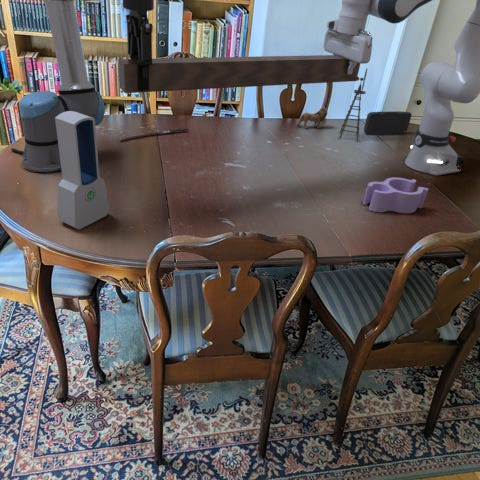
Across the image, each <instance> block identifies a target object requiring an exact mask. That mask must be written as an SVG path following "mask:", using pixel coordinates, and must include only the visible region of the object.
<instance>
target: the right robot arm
mask: <svg viewBox="0 0 480 480" xmlns="http://www.w3.org/2000/svg"><path fill="white" fill-rule="evenodd" d="M432 1H433V0H341V8H340V11H339V15H338V18H336V19H332V20H328V21H327V22H326V28H327V30H326V31H325V34H324V39H323V50H324V52H327V53H329V54H331V55H338V56H341V57H344V58H346V59H349V60H350V62H349V63H350V65H349V67H348V68H346V73H347V74H352V72H353V69H354V67H355V66H356V65H357V63H360V65H361V64H363V65H364V64H368V63H370V61H371V57H372V51H373V36H372V34H371V32H370V31H366V25H367V20H368V16H369V15H370V16H372V17H376V18H378V19H381V20H384V21H386V22H388V23H390V24H401V23H402V22H404V21H405V20H406V19H408V18H409V17H410V16H411V15H412V14H413V13H414V12H415V11H416V10H418V9H419V8H420V7H423V6H425V5H426V4H428V3H430V2H432ZM453 47H454V48H453V49H454V51H455V54H456V55H455V60H454V63H453V64H450V63H447V62H443V61H432V62H430V63H427V64H426V65H425V67H423V70H421V73H420V83H421V86H422V88H423V92H424V107H423V114H422V117H421V121H420V124H419V128H418V129H417V130H416V133H415V135H414V142H413V144H412V145H410V151H409V153H408V155H407V156H406V158H405V160H404V162H403V163H404V164H405V165H406V166H407V167H408V168H410V169H412V170H414V171H417V172H421V173H426V174H429V175H432V176H442V175H448V174H452V173H458V172H459V173H460V172H461V169H462V168H461V169H460V170H459V169H457V167H461V166H462V165H463V164H464V160H463V158H464V157H463V156H461V154H459V153H457V152H456V151H455V150H454V149H453V147H452V146H451V145H450V142H451V143H454V142H456V139H457V138H456V137H455V136H453V135H449V133H450V131H451V128H452V125H453V122H454V119H455V112H454V110H453V108H452V104H451V103H452V102H454V103H458V104H471V103H472V102H473V101H475V100H476V99H477V98H478V97H479V96H480V0H476V3H475V7H474V9H473V11H472V12H471V14H470V15H469V18H468V19H467V21H466V22H465V24H464V26H463V28H462V29H461V31H460V33H459V35H458V37H457V38H456V40H455V41H454V45H453ZM456 164H457V165H458V166H456ZM460 165H461V166H460Z"/></svg>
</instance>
